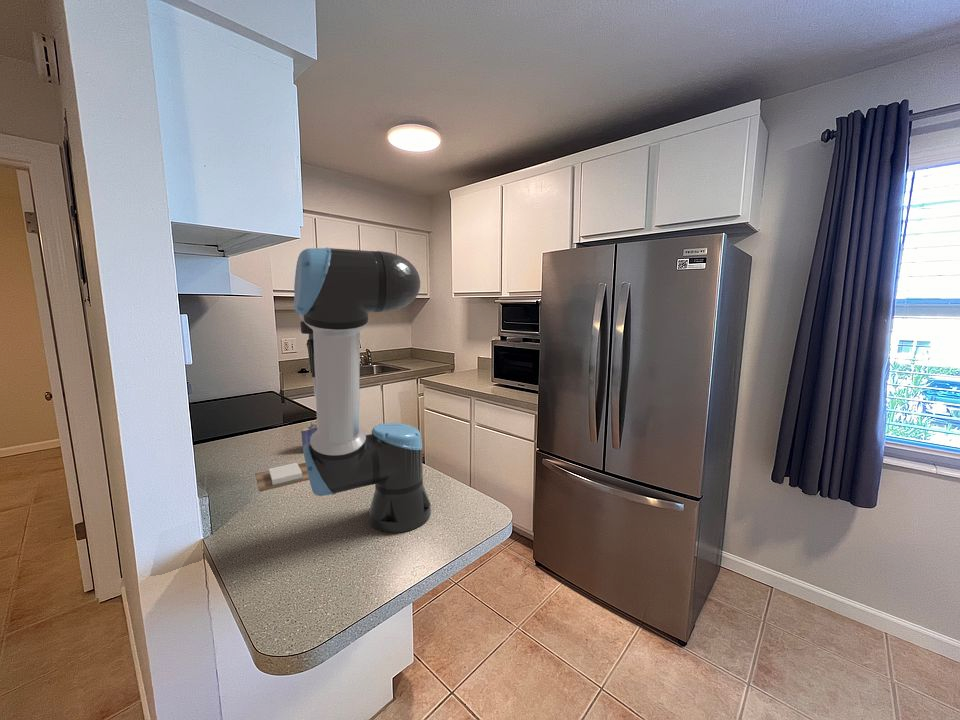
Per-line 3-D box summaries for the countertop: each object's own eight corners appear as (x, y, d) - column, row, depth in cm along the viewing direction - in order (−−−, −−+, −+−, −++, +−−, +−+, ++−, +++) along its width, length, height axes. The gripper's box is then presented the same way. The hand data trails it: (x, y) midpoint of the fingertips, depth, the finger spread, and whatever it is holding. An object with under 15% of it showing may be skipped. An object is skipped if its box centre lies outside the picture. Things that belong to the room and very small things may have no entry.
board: (316, 479, 117) (316, 477, 117) (259, 493, 108) (259, 491, 108) (307, 463, 128) (307, 462, 128) (255, 475, 120) (255, 473, 120)
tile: (297, 467, 124) (302, 478, 116) (269, 474, 119) (272, 485, 112) (297, 462, 123) (302, 472, 116) (268, 468, 119) (272, 479, 112)
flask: (305, 455, 135) (303, 426, 134) (300, 453, 137) (298, 424, 135) (328, 447, 143) (326, 419, 141) (323, 445, 144) (321, 418, 143)
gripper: (333, 319, 112) (338, 399, 115) (321, 319, 123) (326, 392, 126) (305, 320, 108) (311, 403, 111) (295, 320, 118) (301, 395, 121)
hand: (319, 397), depth 118 cm, fingers closed
